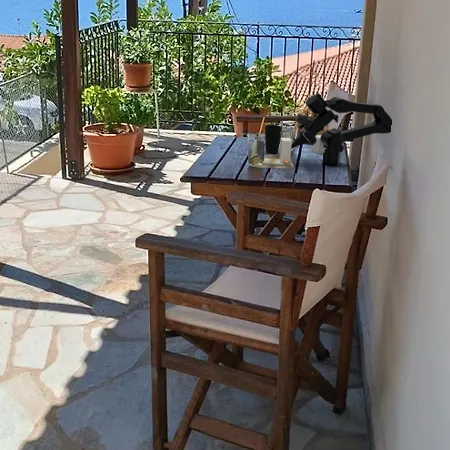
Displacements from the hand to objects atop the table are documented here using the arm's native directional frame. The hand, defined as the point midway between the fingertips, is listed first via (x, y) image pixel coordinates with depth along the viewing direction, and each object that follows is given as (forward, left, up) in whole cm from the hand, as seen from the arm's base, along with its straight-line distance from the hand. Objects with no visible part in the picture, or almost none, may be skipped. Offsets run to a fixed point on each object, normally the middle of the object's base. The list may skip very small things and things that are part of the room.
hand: (291, 146), depth 267 cm
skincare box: (-3, -28, -7) cm, 29 cm away
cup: (+14, -12, -7) cm, 20 cm away
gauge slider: (+1, +3, -6) cm, 7 cm away
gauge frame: (+5, +5, -7) cm, 11 cm away
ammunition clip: (+4, -40, -7) cm, 41 cm away
